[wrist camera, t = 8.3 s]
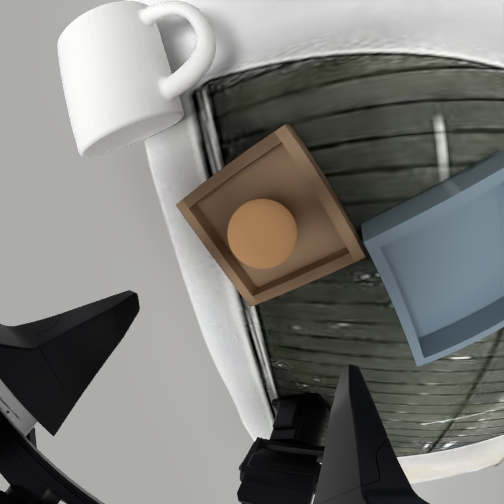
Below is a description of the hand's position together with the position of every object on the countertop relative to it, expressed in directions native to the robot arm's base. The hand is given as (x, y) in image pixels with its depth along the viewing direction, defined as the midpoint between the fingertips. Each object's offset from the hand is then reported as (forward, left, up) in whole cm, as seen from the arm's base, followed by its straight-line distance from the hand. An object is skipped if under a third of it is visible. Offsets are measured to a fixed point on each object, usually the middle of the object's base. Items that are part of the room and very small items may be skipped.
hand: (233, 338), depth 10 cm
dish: (-9, -11, -12) cm, 19 cm away
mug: (+16, +1, -12) cm, 20 cm away
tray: (+1, +1, -12) cm, 12 cm away
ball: (+1, +1, -9) cm, 9 cm away
